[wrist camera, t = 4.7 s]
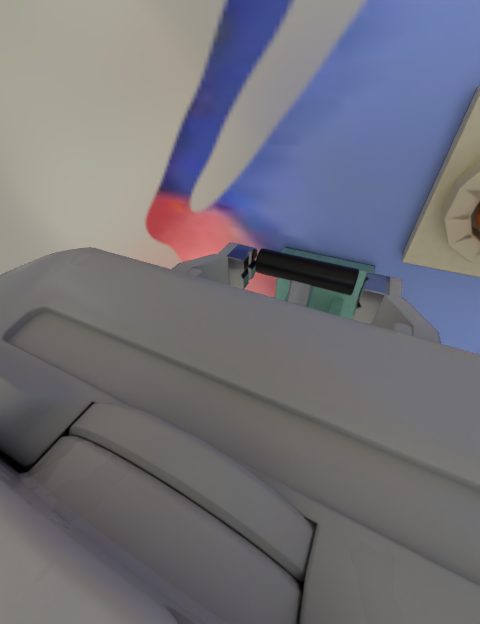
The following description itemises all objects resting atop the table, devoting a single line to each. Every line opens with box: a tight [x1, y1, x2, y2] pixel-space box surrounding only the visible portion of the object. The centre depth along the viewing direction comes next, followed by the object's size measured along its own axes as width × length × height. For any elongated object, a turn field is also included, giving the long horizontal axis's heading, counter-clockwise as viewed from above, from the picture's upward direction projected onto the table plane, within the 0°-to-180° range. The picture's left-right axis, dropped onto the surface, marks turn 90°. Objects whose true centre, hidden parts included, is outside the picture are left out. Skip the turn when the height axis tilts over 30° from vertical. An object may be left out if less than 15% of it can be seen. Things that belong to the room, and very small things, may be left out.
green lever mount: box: [275, 248, 375, 319], centre depth 23 cm, size 11×8×13 cm
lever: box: [255, 248, 359, 307], centre depth 17 cm, size 12×5×2 cm, turn 179°
